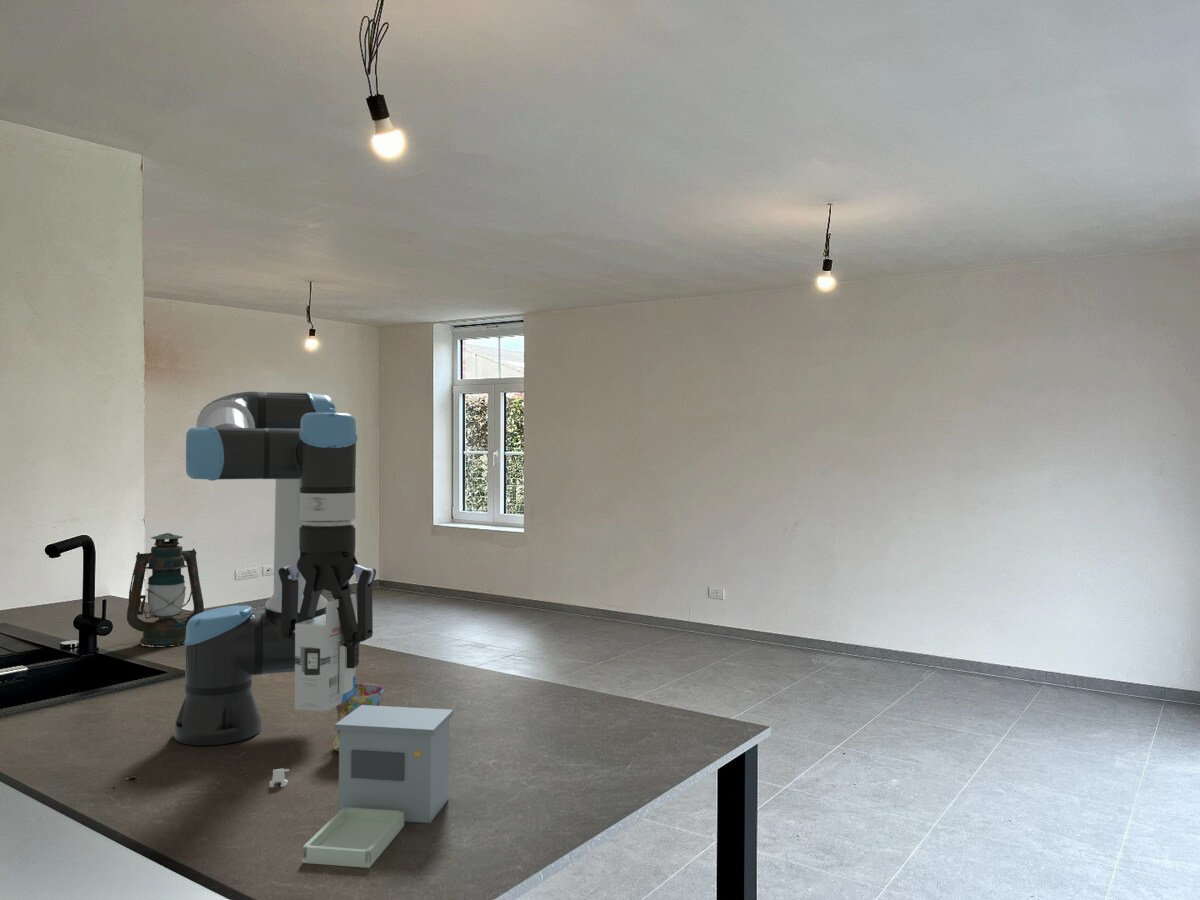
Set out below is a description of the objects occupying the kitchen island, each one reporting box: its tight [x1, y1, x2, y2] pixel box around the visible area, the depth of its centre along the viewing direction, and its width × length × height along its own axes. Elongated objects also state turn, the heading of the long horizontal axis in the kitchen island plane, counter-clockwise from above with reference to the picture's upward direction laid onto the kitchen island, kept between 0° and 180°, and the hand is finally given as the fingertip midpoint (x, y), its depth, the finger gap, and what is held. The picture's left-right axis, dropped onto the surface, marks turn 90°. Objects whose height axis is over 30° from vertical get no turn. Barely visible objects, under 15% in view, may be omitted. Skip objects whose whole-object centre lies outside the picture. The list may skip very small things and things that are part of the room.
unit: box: [334, 705, 454, 824], centre depth 137 cm, size 15×10×14 cm, turn 83°
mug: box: [332, 683, 385, 752], centre depth 164 cm, size 12×9×11 cm
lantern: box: [126, 532, 205, 646], centre depth 246 cm, size 19×14×30 cm
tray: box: [301, 807, 405, 869], centre depth 125 cm, size 9×13×2 cm
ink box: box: [294, 593, 357, 712], centre depth 126 cm, size 9×5×15 cm, turn 167°
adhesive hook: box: [269, 768, 290, 788], centre depth 146 cm, size 3×3×3 cm
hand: (326, 689), depth 126 cm, fingers closed on ink box, 5 cm apart
